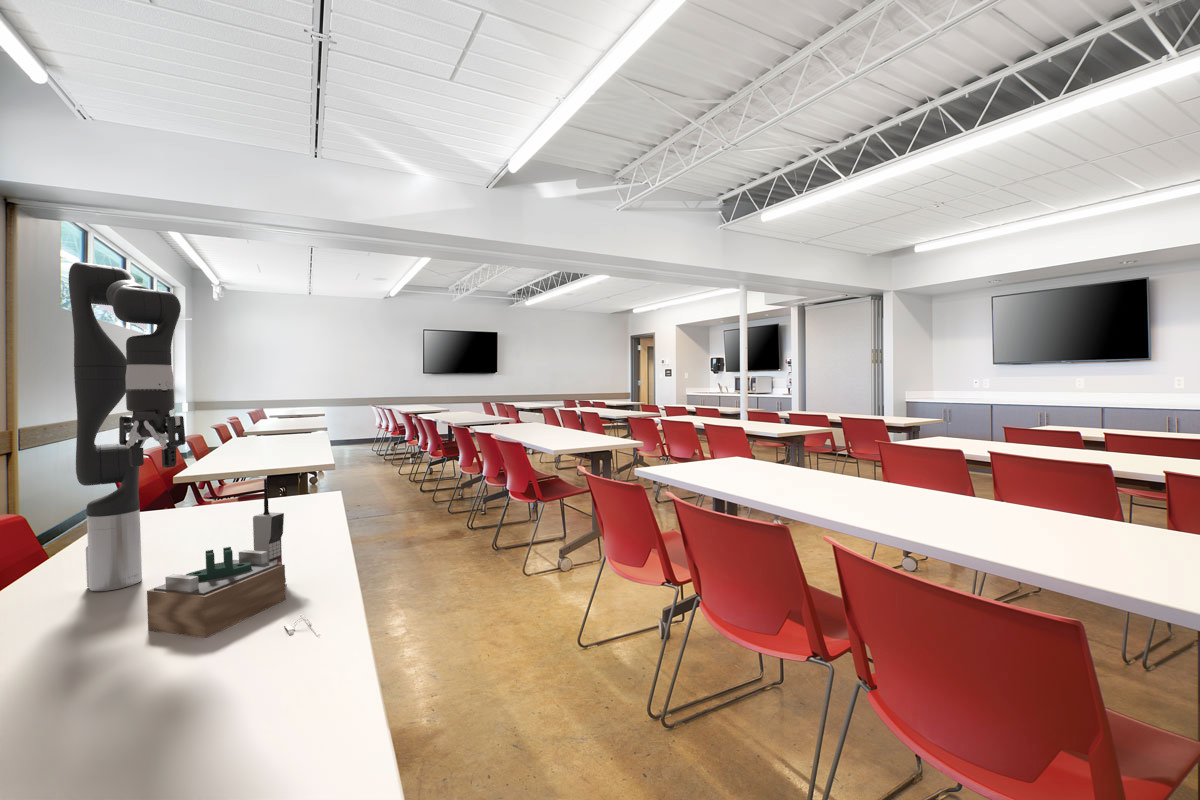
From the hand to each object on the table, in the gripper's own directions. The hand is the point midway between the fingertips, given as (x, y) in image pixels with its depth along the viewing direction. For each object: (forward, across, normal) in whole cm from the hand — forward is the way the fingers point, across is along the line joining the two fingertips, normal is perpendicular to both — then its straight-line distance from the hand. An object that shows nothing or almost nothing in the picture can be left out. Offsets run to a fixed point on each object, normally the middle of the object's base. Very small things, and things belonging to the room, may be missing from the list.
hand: (152, 466), depth 109 cm
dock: (+30, +14, +2) cm, 33 cm away
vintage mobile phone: (+30, +11, +17) cm, 36 cm away
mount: (+22, +14, +2) cm, 26 cm away
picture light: (+31, +35, 0) cm, 46 cm away
